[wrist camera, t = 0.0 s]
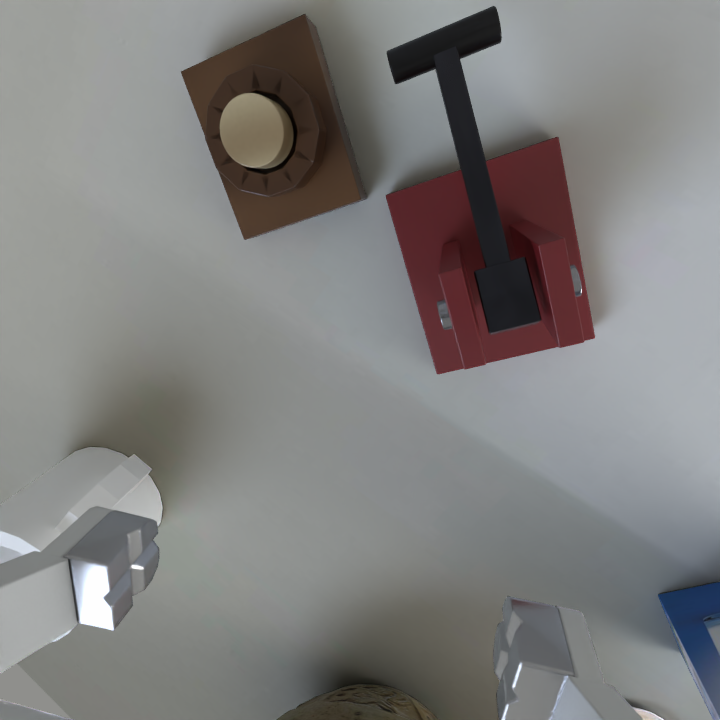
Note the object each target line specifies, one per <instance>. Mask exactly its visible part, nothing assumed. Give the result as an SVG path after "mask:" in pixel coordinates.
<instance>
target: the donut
mask: <svg viewBox="0 0 720 720" xmlns="http://www.w3.org/2000/svg"><path fill="white" fill-rule="evenodd" d="M633 709H634V710H635V711H636V712H637V713H638V714H639V715H640V716H641V717H642V719H643V720H664V719H662V718H661V717H659V716H657V715H656V714H654V713H652V712H649V711H646V710H644V709H640V708H635V707H633Z"/></svg>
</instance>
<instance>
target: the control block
mask: <svg viewBox="0 0 720 720" xmlns="http://www.w3.org/2000/svg"><path fill="white" fill-rule="evenodd" d="M181 74H182V76H183V79H184V82H185V84H186V87H187V89H188V92H189V95H190V97H191V100H192V103H193V105H194V108H195V111H196V113H197V116H198V118H199V121H200V124H201V126H202V129H203V132H204V134H205V139H206V142H207V145H208V147H209V150H210V152H211V155H212V158H213V160H214V163H215V166H216V168H217V169H218V171H219V174H220V177H221V179H222V182H223V185H224V187H225V190H226V192H227V195H228V198H229V200H230V203H231V206H232V208H233V211H234V214H235V216H236V219H237V222H238V224H239V227H240V229H241V232H242V235H243V237H244V240H246V239H250V238H253V237H257V236H260V235H263V234H266V233H269V232H272V231H275V230H278V229H280V228H283V227H286V226H289V225H292V224H295V223H298V222H301V221H304V220H307V219H310V218H313V217H316V216H318V215H321V214H324V213H327V212H330V211H333V210H336V209H339V208H342V207H345V206H348V205H351V204H354V203H356V202H359V201H362V200H365V199H367V197H366V193H365V190H364V187H363V183H362V180H361V177H360V173H359V170H358V167H357V163H356V160H355V157H354V153H353V150H352V147H351V143H350V140H349V137H348V133H347V130H346V127H345V123H344V120H343V117H342V113H341V110H340V107H339V103H338V100H337V97H336V93H335V90H334V86H333V83H332V80H331V76H330V73H329V70H328V66H327V63H326V60H325V56H324V53H323V50H322V46H321V43H320V40H319V36H318V33H317V30H316V27H315V25H314V24H313V23H312V22H311V21H310V19H309V18H308V17H307V16H306V15H305V14H304V15H301V16H299V17H297V18H295V19H293V20H291V21H289V22H286V23H284V24H282V25H280V26H278V27H276V28H274V29H271V30H269V31H267V32H265V33H263V34H261V35H259V36H256V37H254V38H252V39H250V40H248V41H246V42H244V43H241V44H239V45H237V46H235V47H233V48H231V49H229V50H226V51H224V52H222V53H220V54H218V55H216V56H214V57H211V58H209V59H207V60H205V61H203V62H201V63H199V64H196V65H194V66H192V67H190V68H188V69H186V70H184V71H181ZM244 93H256V94H260V95H262V96H264V97H266V98H269V99H271V100H273V101H275V102H277V103H278V104H279V105H281V106H282V107H283V108H284V110H285V111H286V112H287V114H288V115H289V117H290V120H291V122H292V126H293V132H294V138H293V145H292V148H291V151H290V153H289V154H288V156H287V157H286V159H285V160H284V161H283V162H282V163H280V164H279V165H277V166H275V167H272V168H267V169H262V168H251V167H246V166H243V165H241V164H239V163H238V162H236V161H235V160H234V159H233V158H232V157H231V156H230V155H229V154H228V153H227V151H226V149H225V148H224V145H223V143H222V140H221V135H220V120H221V116H222V113H223V111H224V109H225V107H226V106H227V104H228V103H229V102H230V101H231V100H232V99H233V98H235V97H236V96H238V95H241V94H244Z"/></svg>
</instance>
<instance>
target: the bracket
mask: <svg viewBox="0 0 720 720" xmlns="http://www.w3.org/2000/svg"><path fill="white" fill-rule="evenodd" d="M486 164H487V168H488V172H489V176H490V180H491V184H492V188H493V191H494V195H495V199H496V203H497V207H498V211H499V215H500V219H501V223H502V227H503V231H504V235H505V239H506V243H507V247H508V251H509V254H510V258H511V260H514V259H517V258H521V257H526V260H527V264H528V268H529V271H530V275H531V279H532V283H533V287H534V291H535V295H536V299H537V303H538V307H539V311H540V314H541V318H542V319H541V321H540V322H539V323H537V324H536V325H532V326H528V327H524V328H520V329H516V330H512V331H508V332H504V333H500V334H496V335H489V332H488V328H487V324H486V320H485V316H484V312H483V308H482V304H481V300H480V296H479V292H478V288H477V284H476V280H475V276H474V271H475V270H479V269H482V268H485V265H484V261H483V257H482V253H481V249H480V245H479V241H478V237H477V233H476V229H475V225H474V221H473V217H472V213H471V209H470V205H469V201H468V197H467V193H466V189H465V185H464V181H463V177H462V173H461V170H458V171H455V172H452V173H449V174H446V175H443V176H440V177H437V178H435V179H432V180H429V181H426V182H423V183H420V184H417V185H414V186H411V187H408V188H405V189H402V190H399V191H396V192H393V193H390V194H388V195H386V199H387V203H388V206H389V210H390V213H391V217H392V220H393V224H394V227H395V230H396V234H397V237H398V241H399V244H400V248H401V251H402V255H403V258H404V262H405V265H406V269H407V272H408V276H409V279H410V282H411V286H412V289H413V293H414V296H415V300H416V303H417V307H418V310H419V314H420V317H421V321H422V324H423V328H424V331H425V335H426V338H427V341H428V345H429V348H430V352H431V355H432V359H433V362H434V366H435V369H436V373H437V374H442V373H446V372H450V371H455V370H459V369H469V368H473V367H478V366H482V365H485V364H486V363H490V362H494V361H498V360H503V359H507V358H511V357H516V356H520V355H524V354H529V353H533V352H537V351H542V350H546V349H550V348H555V347H559V348H561V347H566V346H570V345H574V344H579V343H583V342H584V341H585V340H590V339H594V338H595V334H594V329H593V323H592V318H591V312H590V307H589V301H588V296H587V290H586V285H585V280H584V274H583V269H582V263H581V258H580V252H579V247H578V241H577V236H576V230H575V225H574V220H573V214H572V209H571V203H570V198H569V192H568V187H567V181H566V176H565V170H564V165H563V159H562V154H561V149H560V143H559V138H558V137H555V138H552V139H549V140H546V141H543V142H540V143H537V144H534V145H531V146H529V147H526V148H523V149H520V150H517V151H514V152H511V153H508V154H505V155H502V156H499V157H496V158H493V159H490V160H487V161H486Z"/></svg>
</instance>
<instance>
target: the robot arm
mask: <svg viewBox="0 0 720 720" xmlns="http://www.w3.org/2000/svg"><path fill="white" fill-rule="evenodd" d="M157 534H158V527H157V522H156V521H155V520H153V519H150V518H146V517H142V516H138V515H134V514H129V513H125V512H121V511H117V510H111V509H107V508H103V507H99V506H95V507H92V508H90V509H88V510H87V511H86V512H85V513H84V514H83V515H82V516H80V517H79V518H78V519H77V520H76V521H75V522H74V523H73V524H71V525H70V526H69V527H68V528H67V529H66V530H65V531H64V532H62V533H61V534H60V535H59V536H58V537H57V538H56V539H55V540H53V541H52V542H51V543H50V544H49V545H48V546H47V547H46V548H44V549H43V550H42V551H41V552H38V551H33V552H30V553H28V554H25V555H22V556H20V557H17V558H15V559H12V560H9V561H7V562H4V563H2V564H0V674H1V673H2V672H4V671H5V670H7V669H8V668H10V667H12V666H13V665H15V664H17V663H18V662H20V661H21V660H23V659H24V658H26V657H28V656H29V655H31V654H32V653H34V652H36V651H37V650H39V649H40V648H42V647H44V646H45V645H47V644H48V643H50V642H52V641H53V640H55V639H56V638H58V637H59V636H61V635H63V634H64V633H66V632H67V631H69V630H71V629H72V628H74V627H75V626H77V625H78V623H81V624H86V625H91V626H95V627H100V628H104V629H109V630H115V628H116V627H117V626H118V624H119V623H120V622H121V620H122V619H123V618H124V617H125V615H126V614H127V613H128V611H129V610H130V609H131V607H132V606H133V597H132V596H134V595H136V594H138V593H140V592H142V591H143V590H145V589H146V587H147V586H148V585H149V583H150V582H151V581H152V579H153V577H154V574H155V572H156V570H157V567H158V562H159V547H158V546H157V545H156V543H155V542H154V540H153V539H154V538H155V536H156V535H157ZM502 611H503V620H504V621H502V622H501V623H499V624H498V626H497V630H496V634H495V641H494V650H493V661H494V673H495V674H496V676H497V677H498V679H499V680H500V683H499V686H498V690H497V693H496V697H497V707H498V717H499V720H643V719H642V717H641V716H640V715H639V714H638V713H637V712H636V711H635V710H634V709H633V707H632V706H631V705H630V704H629V703H628V702H627V701H626V700H625V699H624V697H623V696H622V695H621V694H620V693H619V692H618V691H617V690H616V689H615V687H614V686H610V685H607V684H605V681H604V677H603V674H602V671H601V668H600V665H599V662H598V658H597V655H596V652H595V649H594V646H593V643H592V639H591V636H590V633H589V630H588V627H587V624H586V621H585V617H584V615H583V614H582V612H581V611H580V610H575V609H570V608H565V607H560V606H554V605H550V604H545V603H540V602H535V601H530V600H525V599H521V598H516V597H511V596H507V598H506V599H505V601H504V605H503V608H502ZM0 720H73V719H70V718H66V717H62V716H59V715H55V714H52V713H48V712H45V711H41V710H38V709H34V708H30V707H27V706H23V705H19V704H16V703H13V702H9V701H5V700H2V699H0Z"/></svg>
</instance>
